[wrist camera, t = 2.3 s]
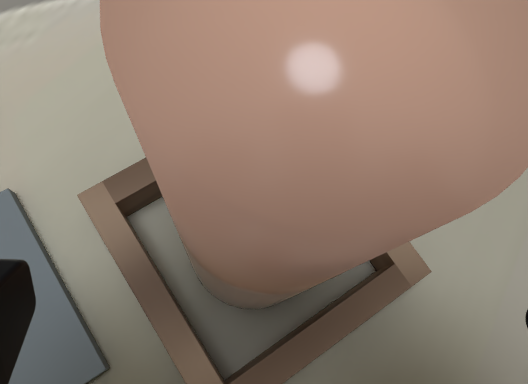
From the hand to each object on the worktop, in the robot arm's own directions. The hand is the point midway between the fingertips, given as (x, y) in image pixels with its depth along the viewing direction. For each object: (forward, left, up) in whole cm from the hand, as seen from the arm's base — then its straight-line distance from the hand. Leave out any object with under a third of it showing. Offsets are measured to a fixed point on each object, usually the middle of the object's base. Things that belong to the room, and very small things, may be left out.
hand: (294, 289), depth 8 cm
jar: (+2, -1, -10) cm, 11 cm away
